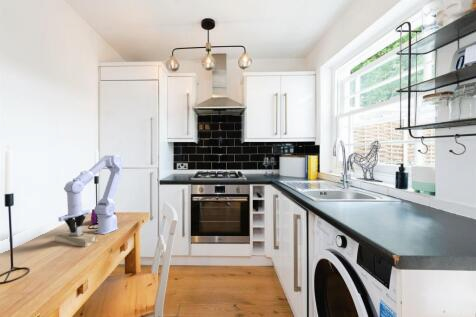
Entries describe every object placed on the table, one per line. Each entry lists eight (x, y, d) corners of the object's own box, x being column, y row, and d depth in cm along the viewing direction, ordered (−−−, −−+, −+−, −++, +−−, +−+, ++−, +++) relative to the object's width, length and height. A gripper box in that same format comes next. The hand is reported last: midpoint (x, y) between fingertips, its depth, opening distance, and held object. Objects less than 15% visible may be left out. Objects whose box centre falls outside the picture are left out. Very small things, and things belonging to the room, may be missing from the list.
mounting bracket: (101, 227, 160) (90, 223, 144) (102, 214, 164) (92, 209, 147) (116, 226, 162) (106, 221, 146) (117, 213, 165) (108, 208, 149)
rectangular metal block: (74, 240, 121) (73, 224, 120) (82, 241, 118) (81, 226, 118) (69, 241, 118) (69, 226, 118) (77, 243, 116) (77, 227, 116)
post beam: (68, 237, 125) (67, 230, 125) (97, 241, 118) (97, 235, 117) (55, 241, 119) (54, 234, 119) (85, 246, 112) (85, 239, 111)
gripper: (83, 201, 126) (84, 226, 126) (53, 207, 112) (55, 235, 113) (92, 202, 124) (93, 227, 124) (63, 208, 110) (64, 237, 110)
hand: (75, 231), depth 118 cm, fingers closed on rectangular metal block, 2 cm apart
